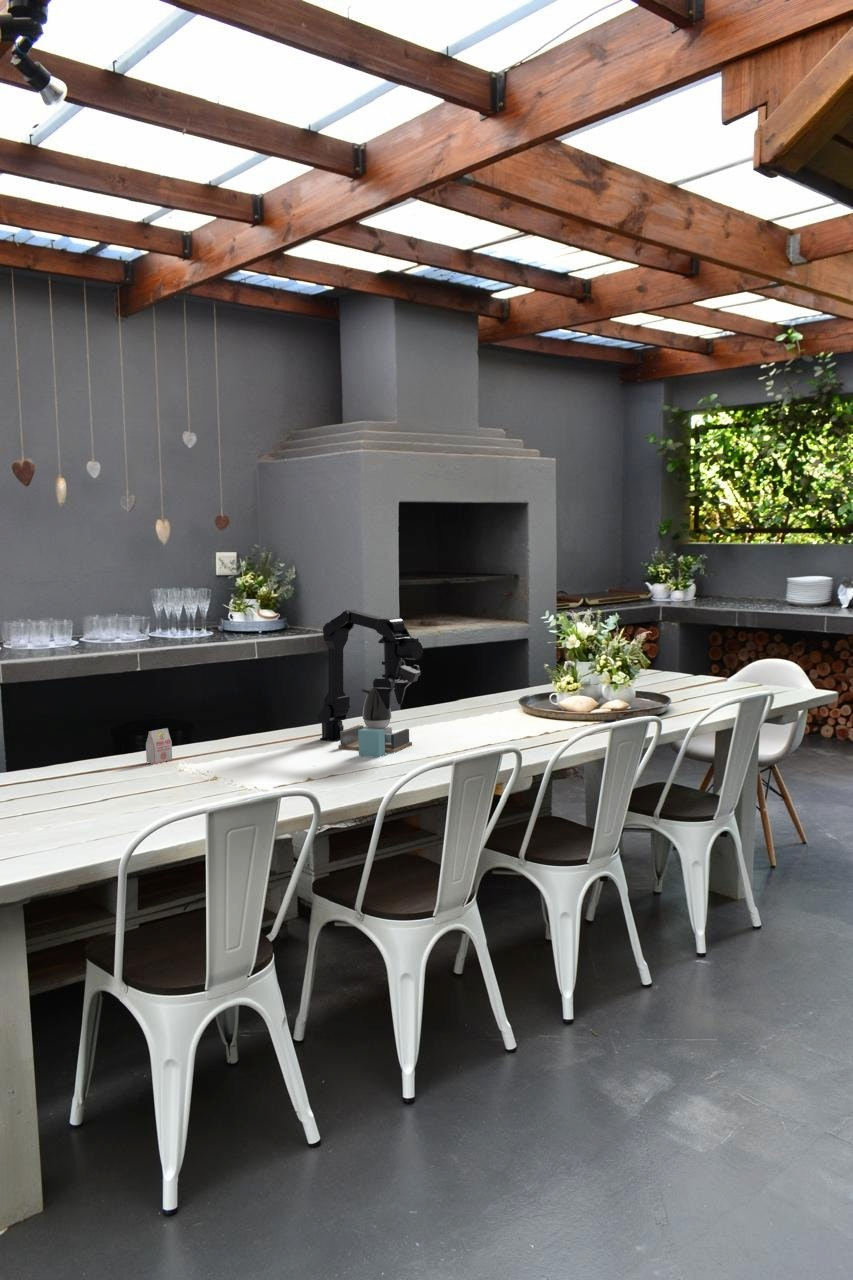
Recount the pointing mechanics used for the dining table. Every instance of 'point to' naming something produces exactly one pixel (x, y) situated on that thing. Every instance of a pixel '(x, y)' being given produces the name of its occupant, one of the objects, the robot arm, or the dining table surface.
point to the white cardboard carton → (158, 746)
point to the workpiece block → (371, 742)
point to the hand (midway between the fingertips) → (394, 706)
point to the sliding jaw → (396, 737)
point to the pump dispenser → (375, 710)
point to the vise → (351, 740)
